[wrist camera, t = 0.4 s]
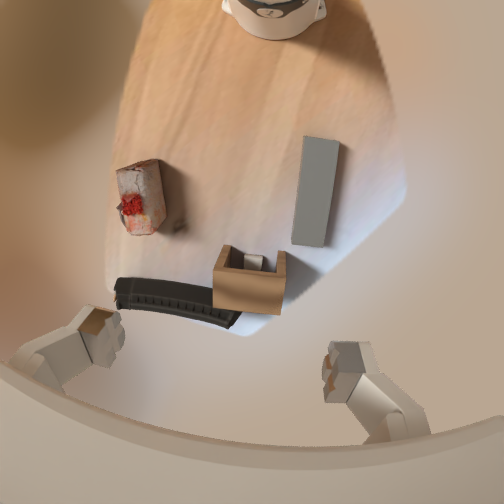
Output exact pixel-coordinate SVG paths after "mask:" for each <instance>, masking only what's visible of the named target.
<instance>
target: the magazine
mask: <svg viewBox="0 0 504 504" xmlns="http://www.w3.org/2000/svg"><path fill="white" fill-rule="evenodd" d="M114 291H115V292H114V302H115V301H116V299H117V301H116V306H117V309H118V310H120V309H129V310H131V309H135V310H144V311H153V312H159V313H166V314H172V315H177V316H181V317H186V318H190V319H195V320H200V321H204V322H208V323H212V324H215V325H218V326H221V327H224V328H226V329H229V328H230V327H231V326H233V324H234V323H235V322H236V320H237V319H238V318H239V316H240V315H241V313H242V312H243V311H236V310H228V309H220V308H213V289H211V288H207V287H202V286H197V285H191V284H186V283H180V282H173V281H165V280H154V279H142V278H123V277H120V278H118V279H117V281H116V284H115V287H114Z"/></svg>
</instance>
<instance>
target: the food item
mask: <svg viewBox="0 0 504 504" xmlns="http://www.w3.org/2000/svg"><path fill="white" fill-rule="evenodd" d="M116 174H117V182H118V188H119V193H120V199H121V203H120V205H119V206H117V207H118V208H117V207H116V208H117V209H119V214H120V218H121V221H122V223H123V224H124V226H125V227H126V228H127V232H129V233H130V234H131V235H135V236H142V235H152V234H153V233H154V232H155V231H156V230H157V229H158V227H159V226H160V225H161V224H162V222H163V221H164V220H165V219H166V218H167V214H166V205H165V200H164V195H163V187H162V181H161V175H160V169H159V162H158V159H150V160H146V161H140V162H137V163H135V164H132V165H130V166H127V167H125V168H121V169H118V170H116ZM122 210H123V212H122V213H123V215H122V214H121V211H122Z"/></svg>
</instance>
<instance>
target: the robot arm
mask: <svg viewBox="0 0 504 504" xmlns="http://www.w3.org/2000/svg"><path fill="white" fill-rule="evenodd" d="M319 7H320V8H321V9H319ZM222 10H223V11H224V12H225V13H227V14H229V15H231V16H233V17H234V18H235V19H236V20H237V22H238V23H239V24H240V26H241V27H242V28H243V29H245V30H246V31H247V32H249V33H250V34H252V35H254V36H257V37H260V38H264V39H270V40H281V39H287V38H291V37H294V36H296V35H298V34H300V33H302V32H303V31H304V30H306V29H307V28H308V27H309V26H310V25H311V24H312V23H313V22H316V21H319V20H321V19H324V18H325V17H326V14H327V11H326V7H325V2H324V0H224V1H223V3H222ZM120 321H121V316H120V313H118V312H117V311H113V310H109V309H105V308H102V307H97V306H93V305H90V304H88V305H85V306H84V307H83V308H82V310H81V311H80V312H79V313H78V314H77V316H76V317H75V318H74V319H73V320H72V321H71V323H70V324H69V325H68V326H67V327H65V326H64V327H62V328H59V329H57V330H55V331H52V332H50V333H48V334H46V335H43V336H41V337H39V338H36V339H34V340H32V341H30V342H27V343H25V344H23V345H22V346H21V347H20V348H19V349H18V351H17V352H16V353H15V354H14V355H13V357H12V358H11V359H10V360H9V362H8V363H6V362H5V361H3V360H2V359H0V504H504V416H501V415H499V416H494V417H491V418H489V419H486V420H483V421H480V422H476V423H473V424H470V425H467V426H463V427H460V428H456V429H452V430H448V431H445V432H440V433H436V434H431V431H430V428H429V424H428V422H427V418H426V415H425V412H424V409H423V408H422V407H421V406H420V405H419V404H418V403H417V402H415V401H414V400H413V399H412V398H411V397H410V396H409V395H408V394H407V393H405V392H404V391H403V390H402V389H401V388H400V387H399V386H398V385H396V384H395V383H394V382H393V381H392V380H391V379H390V378H388V377H387V376H386V375H385V374H384V373H380V371H379V368H378V365H377V362H376V359H375V355H374V352H373V349H372V346H371V344H370V342H353V341H352V342H351V341H331V342H330V344H329V347H328V352H329V354H328V355H326V356H325V358H324V361H323V366H322V380H323V381H324V382H325V383H326V384H325V386H324V388H323V390H324V399H325V403H346V405H347V406H348V408H349V409H350V410H351V411H352V413H353V414H354V415H355V416H356V418H357V419H358V420H359V422H360V423H361V424H362V426H363V427H364V428H365V429H366V431H367V432H368V433H369V435H370V436H369V437H368V439H367V440H366V441H365V442H364V443H363V444H362V445H351V446H330V447H298V446H275V445H261V444H251V443H242V442H234V441H227V440H220V439H214V438H208V437H203V436H197V435H191V434H187V433H182V432H178V431H173V430H169V429H165V428H161V427H158V426H154V425H150V424H146V423H143V422H139V421H136V420H133V419H130V418H127V417H123V416H121V415H118V414H114V413H112V412H109V411H106V410H103V409H101V408H98V407H95V406H93V405H90V404H88V403H85V402H83V401H80V400H78V399H76V398H73V397H71V396H69V395H67V394H66V393H65V391H64V390H63V388H62V387H61V386H62V385H63V384H65V383H66V382H68V381H69V380H71V379H72V378H74V377H75V376H77V375H78V374H80V373H81V372H82V371H84V370H86V369H87V368H88V367H90V366H91V365H92V364H95V365H99V366H102V367H105V368H110V367H111V365H112V363H113V362H114V360H115V359H116V354H115V352H117V351H119V350H121V348H122V346H123V344H124V340H125V331H124V328H123V327H122V325H121V324H120Z"/></svg>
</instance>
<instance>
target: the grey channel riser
mask: <svg viewBox="0 0 504 504" xmlns="http://www.w3.org/2000/svg"><path fill="white" fill-rule="evenodd" d="M338 150H339V141H336V140H328V139H321V138H314V137H308V136H303V145H302V154H301V163H300V172H299V181H298V189H297V197H296V205H295V213H294V220H293V228H292V235H291V243H292V244H293V245H302V246H311V247H321V248H323V244H324V239H325V234H326V228H327V222H328V217H329V211H330V205H331V199H332V193H333V186H334V179H335V173H336V165H337V158H338Z"/></svg>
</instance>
